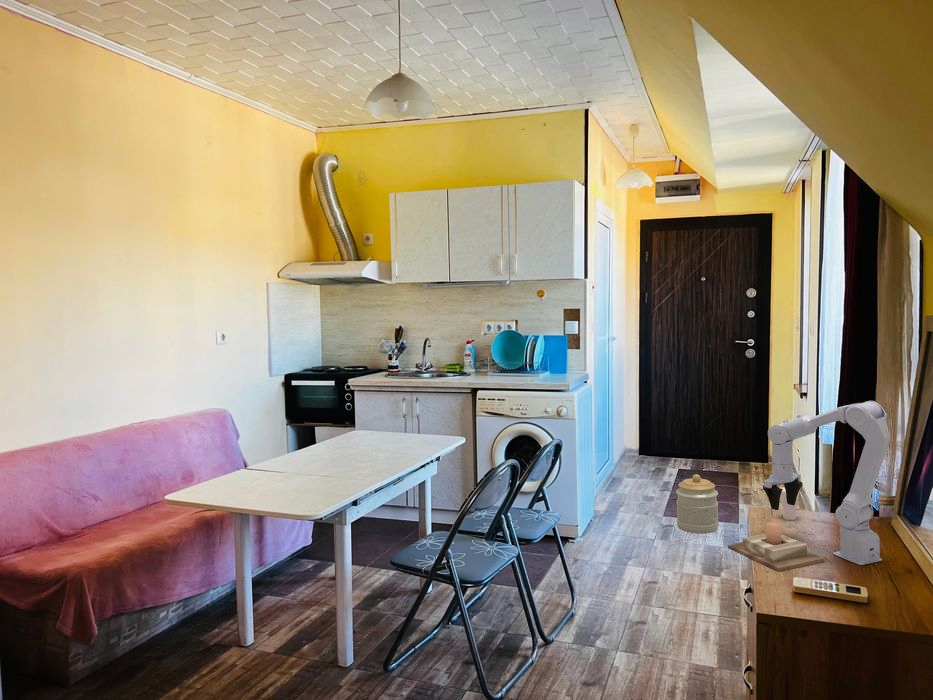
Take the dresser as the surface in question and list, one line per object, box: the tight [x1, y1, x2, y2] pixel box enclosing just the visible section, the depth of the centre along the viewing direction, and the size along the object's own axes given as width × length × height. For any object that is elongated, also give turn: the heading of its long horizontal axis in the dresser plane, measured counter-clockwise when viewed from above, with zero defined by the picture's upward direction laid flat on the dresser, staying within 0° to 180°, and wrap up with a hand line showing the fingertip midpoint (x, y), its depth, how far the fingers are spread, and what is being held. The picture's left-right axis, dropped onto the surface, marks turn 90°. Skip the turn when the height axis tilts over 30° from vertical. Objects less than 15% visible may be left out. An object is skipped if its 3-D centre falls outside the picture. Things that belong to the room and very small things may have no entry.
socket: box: [727, 533, 825, 572], centre depth 200 cm, size 20×16×4 cm
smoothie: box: [780, 487, 801, 521], centre depth 231 cm, size 6×6×14 cm
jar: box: [675, 473, 720, 534], centre depth 226 cm, size 13×13×18 cm
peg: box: [765, 521, 782, 546], centre depth 200 cm, size 4×4×8 cm
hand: (783, 506), depth 212 cm, fingers open, 7 cm apart
